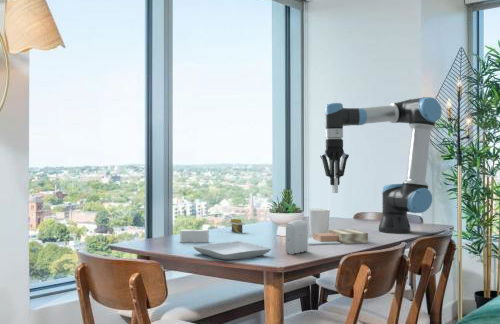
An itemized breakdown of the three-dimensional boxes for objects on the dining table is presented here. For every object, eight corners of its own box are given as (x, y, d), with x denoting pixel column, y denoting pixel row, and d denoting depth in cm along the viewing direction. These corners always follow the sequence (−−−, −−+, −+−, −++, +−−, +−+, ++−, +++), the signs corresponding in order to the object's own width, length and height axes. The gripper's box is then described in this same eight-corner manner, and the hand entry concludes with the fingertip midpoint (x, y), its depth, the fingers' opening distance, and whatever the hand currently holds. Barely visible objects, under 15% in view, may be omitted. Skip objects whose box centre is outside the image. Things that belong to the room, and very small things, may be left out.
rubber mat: (325, 238, 251) (325, 237, 251) (340, 244, 236) (340, 242, 236) (295, 239, 247) (295, 238, 247) (308, 245, 232) (308, 243, 232)
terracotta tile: (330, 238, 248) (330, 232, 248) (338, 241, 240) (338, 235, 240) (313, 239, 245) (313, 233, 245) (320, 241, 238) (320, 235, 238)
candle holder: (329, 237, 255) (329, 210, 255) (307, 236, 257) (307, 210, 257) (330, 234, 265) (330, 208, 265) (309, 233, 267) (309, 208, 267)
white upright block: (293, 255, 208) (293, 221, 208) (283, 253, 211) (284, 220, 211) (309, 251, 216) (309, 219, 216) (299, 250, 219) (300, 218, 219)
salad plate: (224, 263, 192) (224, 253, 192) (192, 254, 209) (192, 245, 209) (272, 257, 205) (272, 247, 205) (238, 249, 222) (239, 240, 222)
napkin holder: (215, 242, 242) (215, 228, 242) (203, 245, 231) (203, 231, 231) (183, 239, 247) (184, 226, 247) (170, 243, 237) (171, 229, 237)
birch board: (353, 238, 253) (353, 229, 253) (367, 242, 240) (367, 233, 240) (328, 238, 250) (328, 229, 250) (341, 243, 237) (341, 234, 237)
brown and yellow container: (237, 236, 260) (237, 221, 260) (214, 231, 274) (214, 218, 274) (257, 234, 268) (257, 220, 268) (233, 230, 282) (233, 217, 282)
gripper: (324, 138, 242) (324, 193, 243) (351, 138, 246) (352, 192, 246) (317, 139, 249) (317, 192, 250) (344, 138, 253) (344, 191, 254)
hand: (335, 192), depth 248 cm, fingers closed
